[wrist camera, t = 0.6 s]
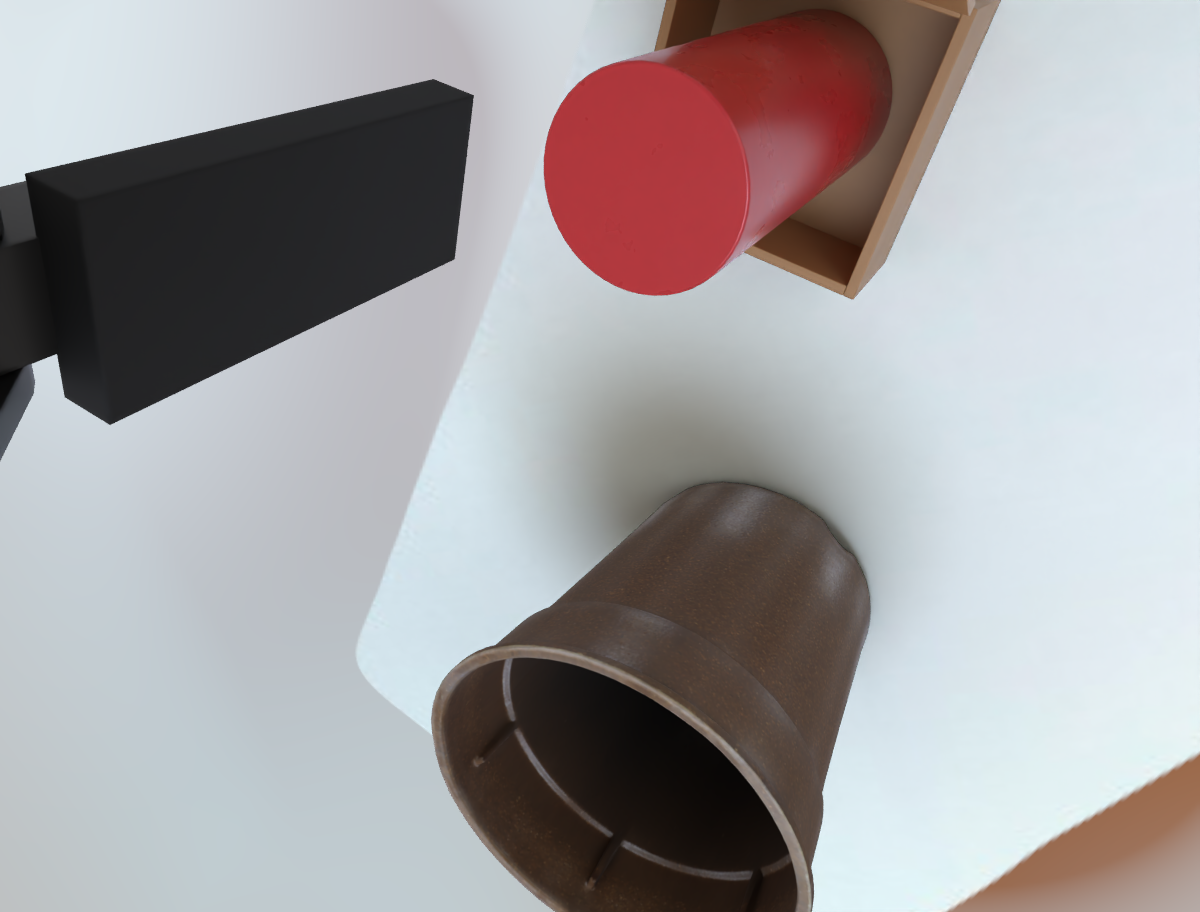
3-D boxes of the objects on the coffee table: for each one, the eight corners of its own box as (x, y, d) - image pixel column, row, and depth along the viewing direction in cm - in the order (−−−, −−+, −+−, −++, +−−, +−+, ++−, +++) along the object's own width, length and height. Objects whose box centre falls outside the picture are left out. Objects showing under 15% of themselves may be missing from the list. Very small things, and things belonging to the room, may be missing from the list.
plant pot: (926, 741, 46) (830, 1040, 34) (644, 683, 55) (486, 905, 43) (907, 452, 39) (779, 696, 27) (588, 436, 48) (383, 617, 36)
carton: (737, -88, 33) (686, -87, 30) (1002, -3, 30) (978, 9, 27) (668, 172, 39) (618, 198, 36) (884, 263, 36) (853, 300, 33)
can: (764, -14, 33) (565, 27, 23) (920, 40, 32) (783, 110, 21) (716, 147, 37) (526, 245, 27) (855, 203, 35) (710, 331, 25)
